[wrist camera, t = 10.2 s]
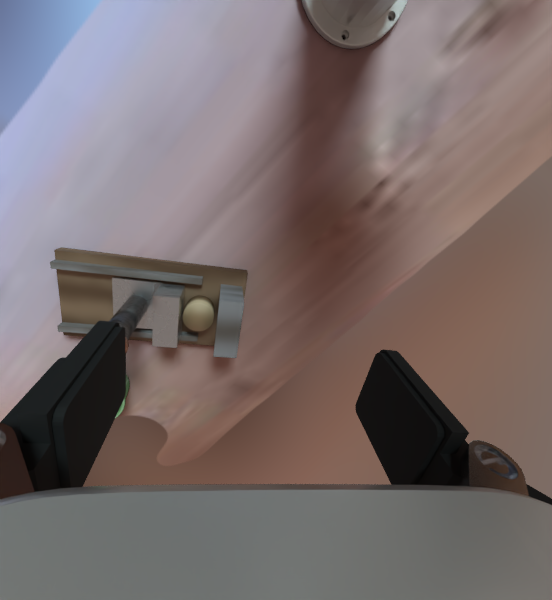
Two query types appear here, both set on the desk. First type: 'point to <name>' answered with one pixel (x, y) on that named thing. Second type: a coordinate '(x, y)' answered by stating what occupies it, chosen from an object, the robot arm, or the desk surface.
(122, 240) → the desk surface
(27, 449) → the robot arm
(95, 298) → the press frame
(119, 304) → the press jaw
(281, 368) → the desk surface
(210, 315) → the beige rounded dome
